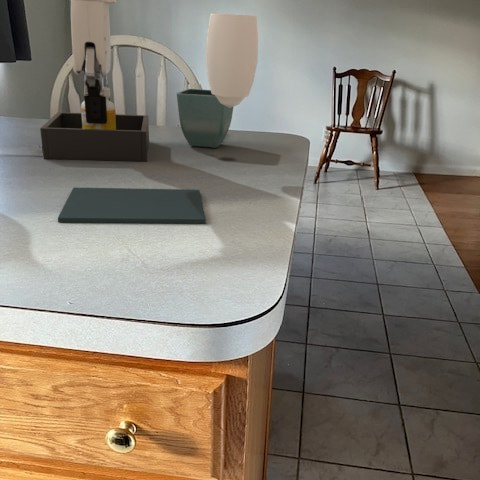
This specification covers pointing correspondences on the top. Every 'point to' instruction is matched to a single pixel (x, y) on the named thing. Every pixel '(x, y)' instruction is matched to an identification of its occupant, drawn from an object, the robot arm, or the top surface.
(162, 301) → the top surface
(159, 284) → the top surface
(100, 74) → the robot arm
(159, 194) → the mat
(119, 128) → the black box
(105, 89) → the supplement bottle
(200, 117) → the flower pot
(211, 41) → the beige tapered shape
